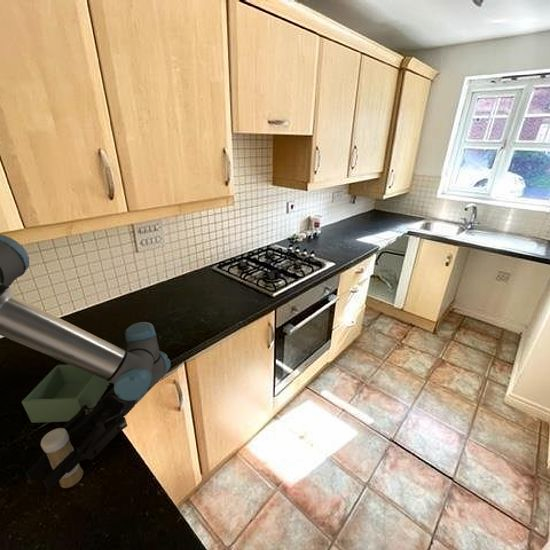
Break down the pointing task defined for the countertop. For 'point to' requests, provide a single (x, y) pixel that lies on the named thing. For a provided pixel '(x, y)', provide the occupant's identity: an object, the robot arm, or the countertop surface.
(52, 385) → the bin
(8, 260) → the robot arm
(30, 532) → the countertop surface
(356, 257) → the countertop surface
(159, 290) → the countertop surface
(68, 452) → the sprinkles bottle
